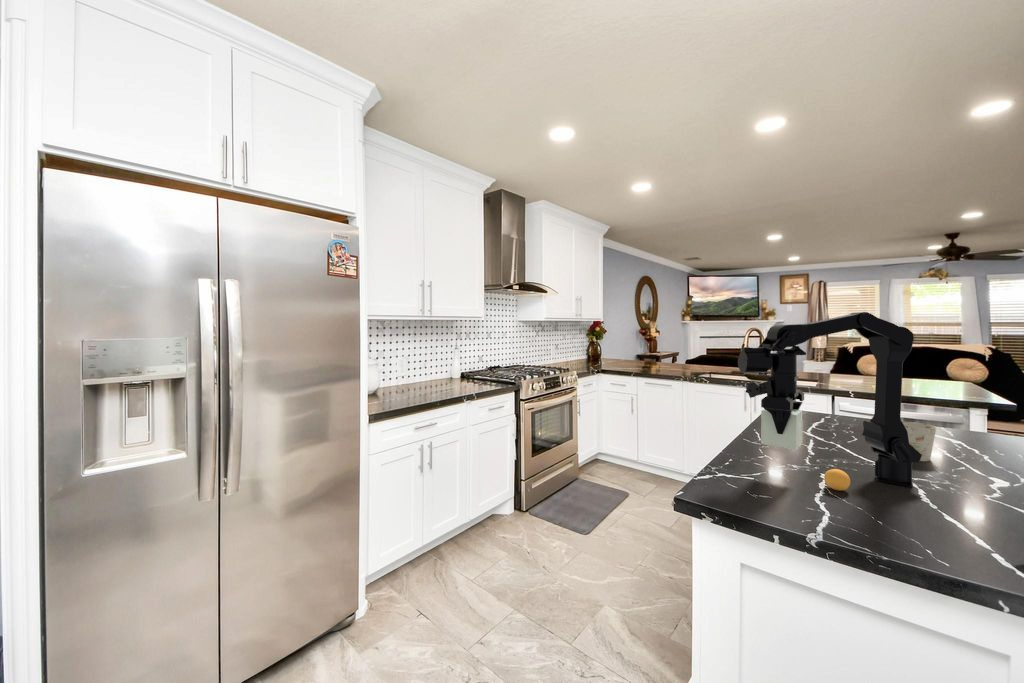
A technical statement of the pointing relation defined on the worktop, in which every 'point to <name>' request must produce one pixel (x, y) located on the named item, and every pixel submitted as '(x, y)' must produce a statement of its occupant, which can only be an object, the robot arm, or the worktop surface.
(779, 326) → the robot arm
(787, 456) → the worktop surface
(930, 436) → the mug
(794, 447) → the pale green block
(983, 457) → the worktop surface
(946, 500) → the worktop surface
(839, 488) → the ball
